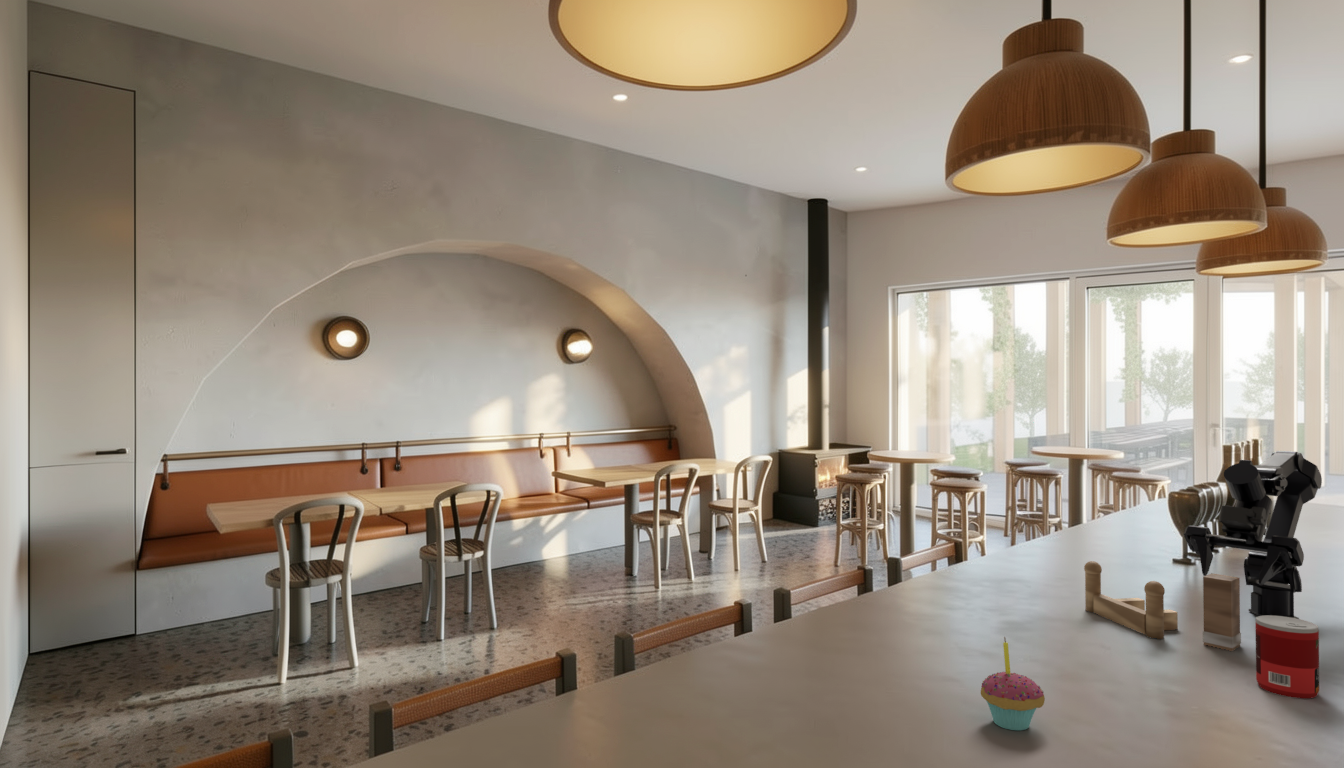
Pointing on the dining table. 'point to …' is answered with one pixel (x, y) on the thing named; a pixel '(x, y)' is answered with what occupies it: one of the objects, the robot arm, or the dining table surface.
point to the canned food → (1287, 656)
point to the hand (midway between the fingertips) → (1231, 579)
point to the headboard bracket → (1130, 606)
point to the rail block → (1221, 611)
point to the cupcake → (1011, 697)
